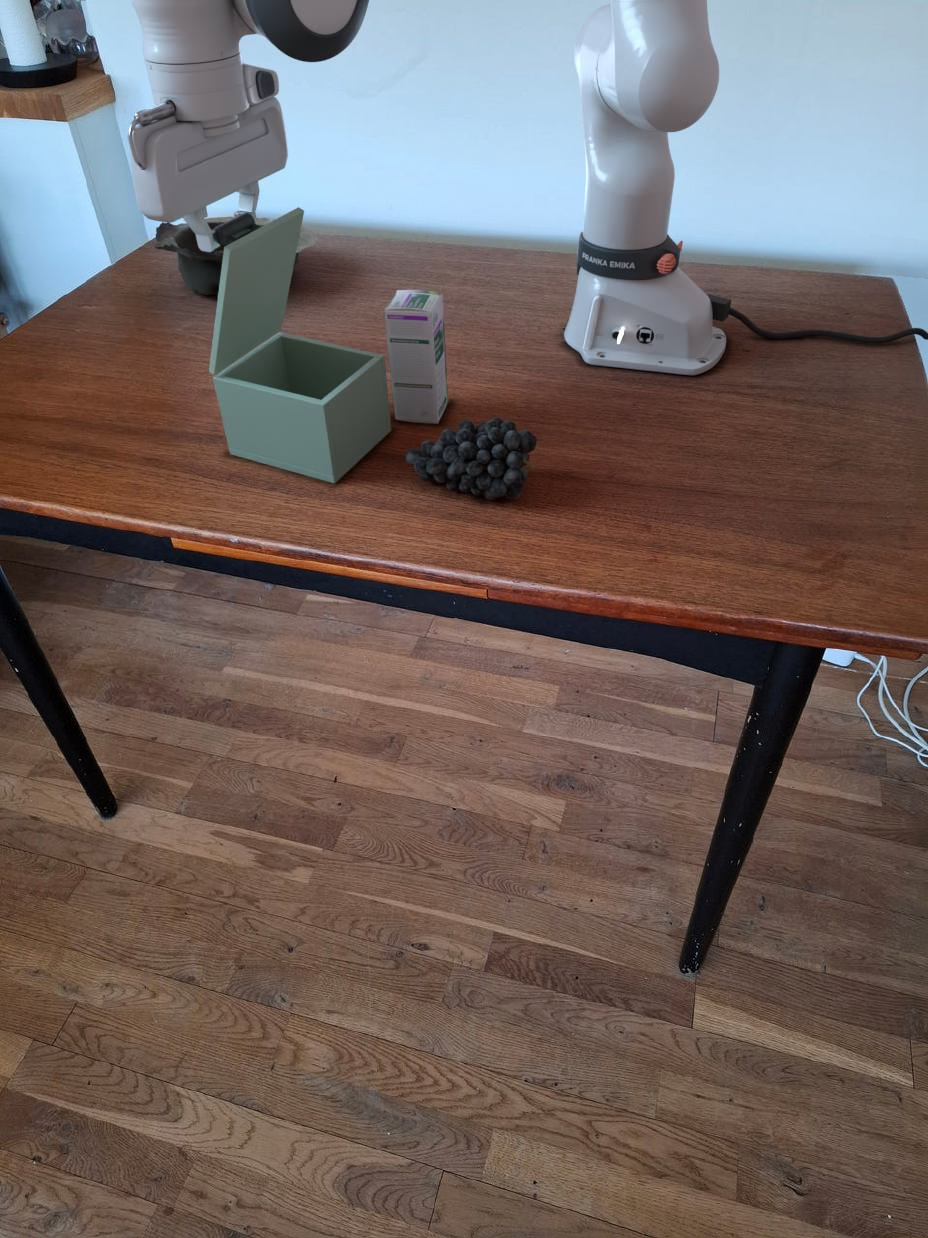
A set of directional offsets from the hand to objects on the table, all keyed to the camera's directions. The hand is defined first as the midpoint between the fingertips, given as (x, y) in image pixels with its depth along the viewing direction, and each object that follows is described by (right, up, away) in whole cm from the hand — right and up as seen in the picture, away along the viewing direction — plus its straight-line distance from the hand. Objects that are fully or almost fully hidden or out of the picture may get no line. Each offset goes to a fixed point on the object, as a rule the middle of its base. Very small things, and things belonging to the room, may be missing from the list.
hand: (229, 238), depth 94 cm
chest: (+6, -19, +13) cm, 24 cm away
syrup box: (+19, -14, +18) cm, 30 cm away
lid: (+2, -5, +3) cm, 6 cm away
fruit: (+26, -25, +6) cm, 37 cm away
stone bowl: (-11, +15, +51) cm, 55 cm away
